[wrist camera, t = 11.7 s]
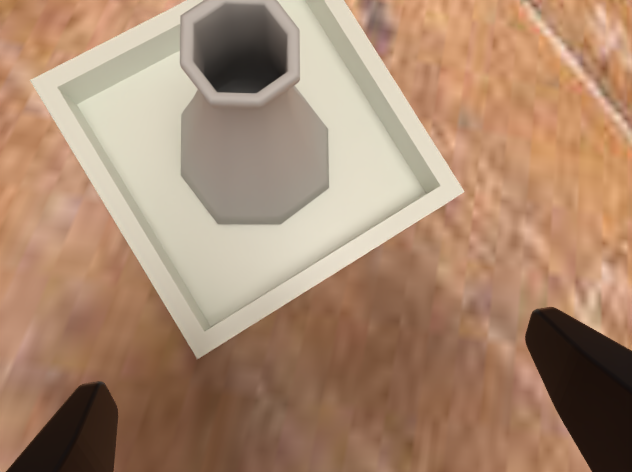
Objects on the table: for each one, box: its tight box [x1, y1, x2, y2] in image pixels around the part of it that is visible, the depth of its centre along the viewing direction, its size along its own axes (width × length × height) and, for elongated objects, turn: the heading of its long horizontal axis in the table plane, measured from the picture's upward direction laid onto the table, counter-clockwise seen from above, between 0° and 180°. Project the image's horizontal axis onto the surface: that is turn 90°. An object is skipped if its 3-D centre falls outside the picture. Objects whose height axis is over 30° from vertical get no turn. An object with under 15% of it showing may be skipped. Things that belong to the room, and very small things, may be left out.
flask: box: [180, 0, 329, 224], centre depth 16 cm, size 7×7×10 cm
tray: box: [30, 0, 464, 359], centre depth 21 cm, size 14×14×2 cm
